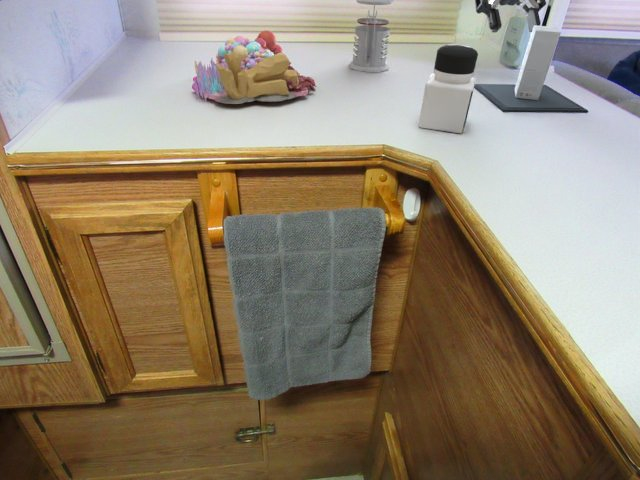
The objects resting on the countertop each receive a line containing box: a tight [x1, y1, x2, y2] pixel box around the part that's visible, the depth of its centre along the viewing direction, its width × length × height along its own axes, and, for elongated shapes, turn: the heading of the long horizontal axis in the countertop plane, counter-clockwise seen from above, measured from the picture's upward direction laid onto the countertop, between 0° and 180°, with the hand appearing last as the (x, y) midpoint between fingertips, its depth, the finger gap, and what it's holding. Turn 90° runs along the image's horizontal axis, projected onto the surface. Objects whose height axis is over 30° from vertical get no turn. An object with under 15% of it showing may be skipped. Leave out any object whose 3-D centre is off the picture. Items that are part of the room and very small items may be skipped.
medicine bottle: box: [418, 44, 479, 135], centre depth 67 cm, size 7×7×12 cm
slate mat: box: [474, 83, 589, 114], centre depth 83 cm, size 16×16×1 cm
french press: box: [348, 0, 395, 73], centre depth 92 cm, size 10×12×25 cm
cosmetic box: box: [515, 25, 562, 100], centre depth 80 cm, size 6×4×12 cm
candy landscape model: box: [191, 29, 317, 105], centre depth 81 cm, size 25×24×9 cm
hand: (516, 29), depth 84 cm, fingers open, 8 cm apart
